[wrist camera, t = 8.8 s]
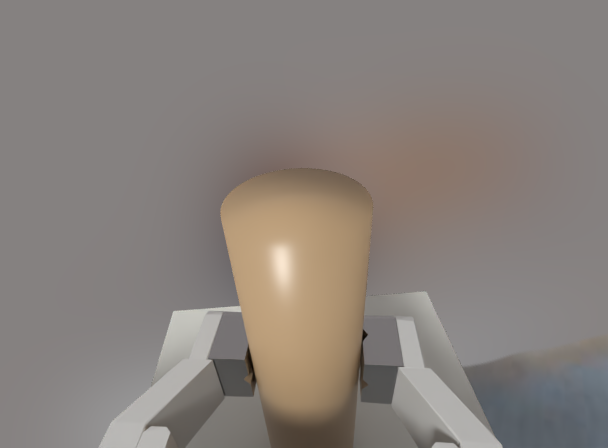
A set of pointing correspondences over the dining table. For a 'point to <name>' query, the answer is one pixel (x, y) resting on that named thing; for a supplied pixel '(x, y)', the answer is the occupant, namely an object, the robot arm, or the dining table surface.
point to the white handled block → (308, 319)
